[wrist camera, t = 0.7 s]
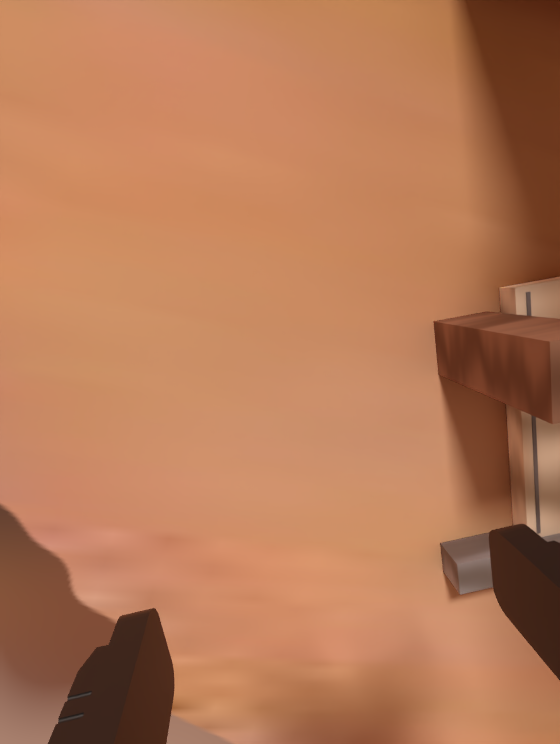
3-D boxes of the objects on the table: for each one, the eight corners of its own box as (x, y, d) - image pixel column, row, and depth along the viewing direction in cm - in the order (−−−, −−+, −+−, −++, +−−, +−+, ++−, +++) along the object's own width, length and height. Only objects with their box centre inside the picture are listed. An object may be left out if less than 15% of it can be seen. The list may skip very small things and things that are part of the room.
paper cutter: (416, 302, 33) (433, 304, 31) (614, 266, 34) (649, 264, 32) (443, 571, 39) (459, 594, 36) (614, 533, 40) (644, 552, 37)
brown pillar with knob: (433, 321, 34) (568, 344, 20) (486, 311, 34) (654, 327, 20) (438, 374, 35) (570, 431, 21) (489, 364, 35) (652, 414, 21)
